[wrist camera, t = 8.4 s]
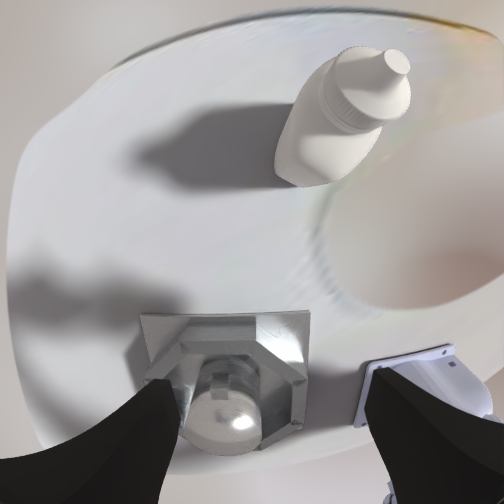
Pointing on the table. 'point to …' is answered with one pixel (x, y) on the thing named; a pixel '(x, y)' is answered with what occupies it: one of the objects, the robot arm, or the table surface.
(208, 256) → the table surface
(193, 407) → the silver short rounded cylinder
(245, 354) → the collar
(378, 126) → the eye dropper bottle
